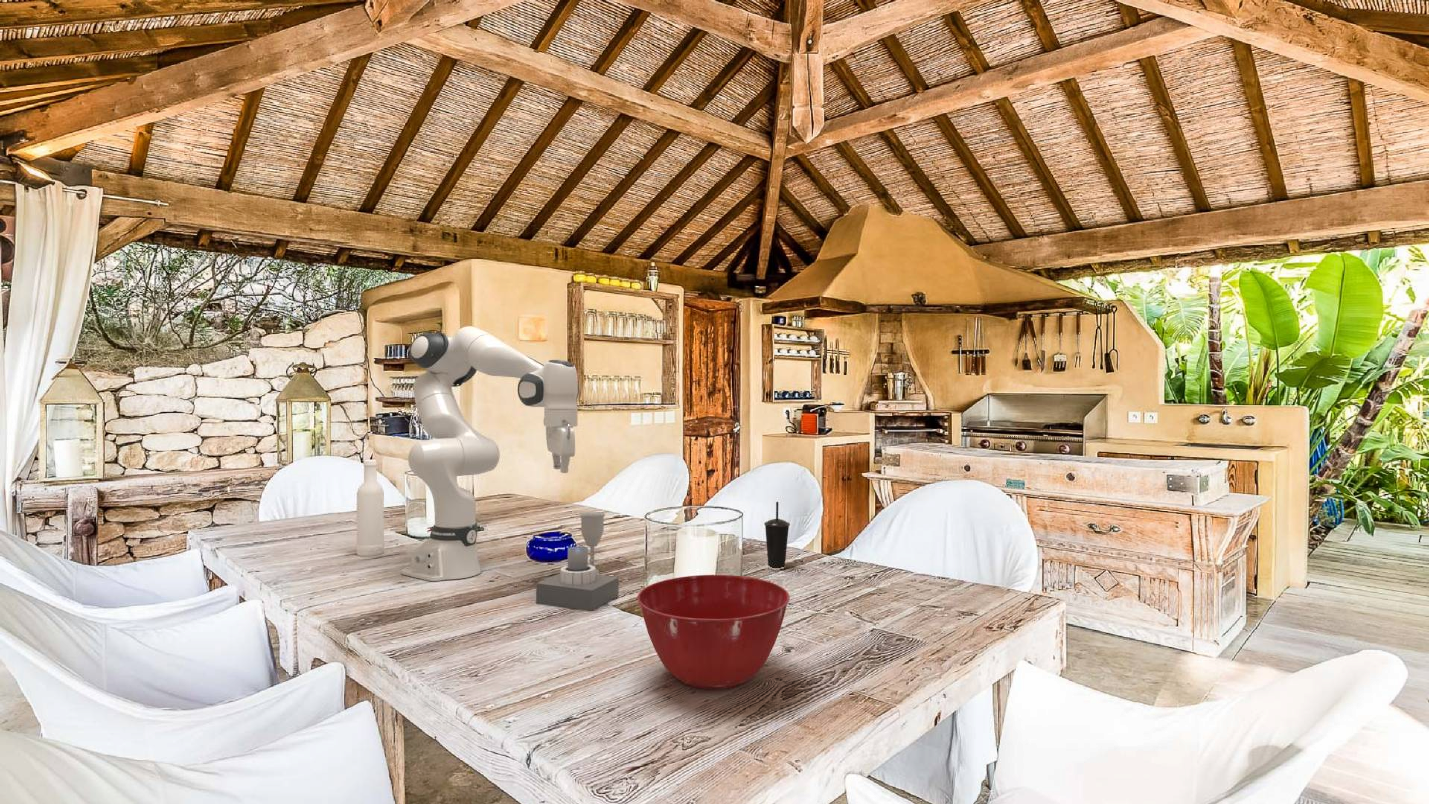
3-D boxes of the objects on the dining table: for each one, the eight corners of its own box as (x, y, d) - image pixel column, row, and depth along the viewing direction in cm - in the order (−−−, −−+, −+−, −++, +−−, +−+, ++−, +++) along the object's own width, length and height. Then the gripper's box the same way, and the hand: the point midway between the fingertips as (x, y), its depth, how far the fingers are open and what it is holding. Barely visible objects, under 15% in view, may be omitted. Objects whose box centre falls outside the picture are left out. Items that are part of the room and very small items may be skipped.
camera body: (536, 603, 179) (536, 571, 179) (565, 589, 191) (565, 559, 191) (591, 611, 173) (592, 577, 173) (618, 596, 185) (618, 565, 185)
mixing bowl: (667, 720, 117) (668, 625, 116) (618, 659, 143) (619, 581, 142) (817, 692, 128) (818, 606, 128) (746, 640, 154) (747, 568, 154)
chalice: (607, 575, 207) (608, 512, 206) (601, 581, 200) (602, 516, 200) (582, 574, 207) (583, 511, 207) (576, 580, 201) (576, 515, 200)
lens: (563, 581, 180) (563, 549, 180) (573, 576, 185) (573, 545, 185) (582, 583, 179) (582, 551, 179) (591, 578, 184) (591, 546, 184)
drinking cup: (790, 571, 212) (791, 504, 212) (764, 571, 212) (765, 503, 212) (788, 565, 220) (788, 500, 219) (763, 565, 220) (763, 499, 219)
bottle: (350, 555, 227) (350, 460, 226) (366, 550, 235) (366, 458, 234) (373, 557, 226) (373, 461, 225) (389, 551, 234) (389, 459, 233)
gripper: (581, 421, 187) (580, 474, 187) (564, 418, 205) (564, 466, 206) (556, 421, 184) (556, 475, 184) (542, 418, 203) (542, 467, 203)
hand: (560, 470), depth 195 cm, fingers open, 8 cm apart
